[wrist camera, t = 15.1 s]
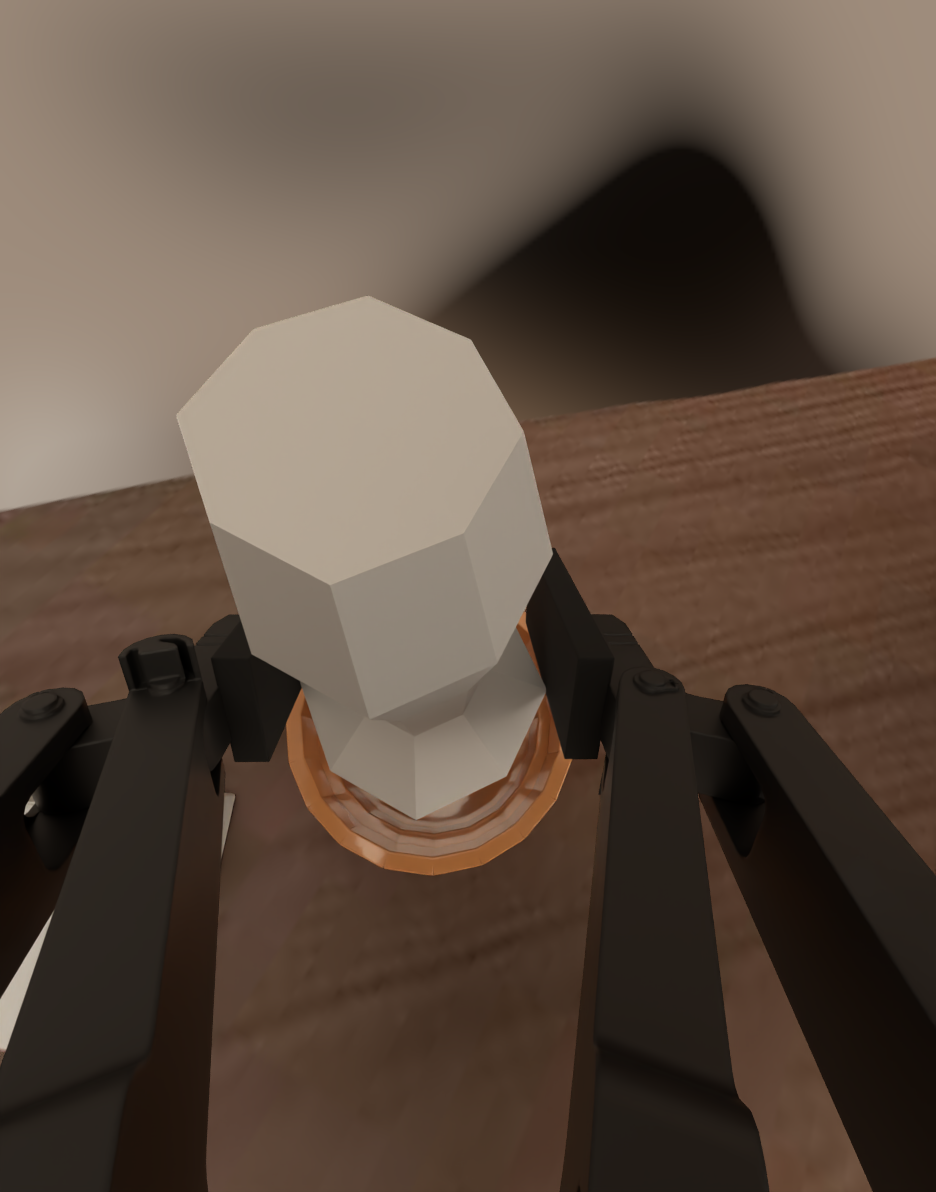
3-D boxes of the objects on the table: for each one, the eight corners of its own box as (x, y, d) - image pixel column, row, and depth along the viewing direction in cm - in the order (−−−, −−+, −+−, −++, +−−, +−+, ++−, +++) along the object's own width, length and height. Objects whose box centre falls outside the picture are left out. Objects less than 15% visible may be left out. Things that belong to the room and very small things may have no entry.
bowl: (522, 601, 27) (539, 559, 22) (573, 824, 24) (609, 839, 18) (311, 635, 26) (277, 601, 21) (331, 875, 23) (296, 905, 17)
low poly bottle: (429, 828, 23) (230, 1348, 2) (341, 722, 24) (-310, 391, 3) (528, 728, 24) (977, 453, 4) (439, 635, 26) (399, 54, 5)
